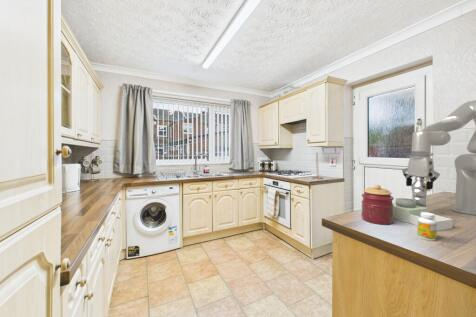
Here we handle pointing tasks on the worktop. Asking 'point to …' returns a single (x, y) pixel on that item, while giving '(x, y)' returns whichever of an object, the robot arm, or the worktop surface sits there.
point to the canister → (377, 205)
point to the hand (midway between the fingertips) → (418, 187)
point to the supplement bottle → (427, 226)
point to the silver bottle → (419, 191)
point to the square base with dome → (416, 214)
